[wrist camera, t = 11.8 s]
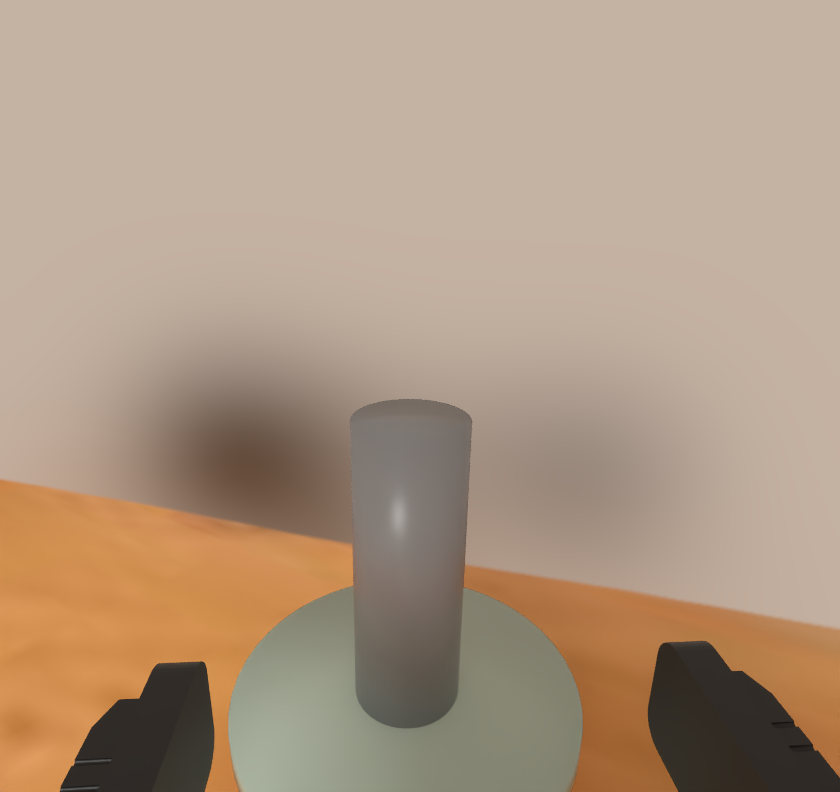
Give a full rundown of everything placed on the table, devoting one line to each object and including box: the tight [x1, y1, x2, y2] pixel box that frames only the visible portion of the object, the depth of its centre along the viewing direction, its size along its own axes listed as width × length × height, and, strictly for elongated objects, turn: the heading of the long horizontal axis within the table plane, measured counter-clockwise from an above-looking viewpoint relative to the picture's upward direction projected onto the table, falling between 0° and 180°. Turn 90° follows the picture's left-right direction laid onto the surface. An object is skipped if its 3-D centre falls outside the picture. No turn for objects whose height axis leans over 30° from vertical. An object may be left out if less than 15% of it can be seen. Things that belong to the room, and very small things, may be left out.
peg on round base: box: [228, 399, 583, 792], centre depth 19 cm, size 12×12×11 cm
